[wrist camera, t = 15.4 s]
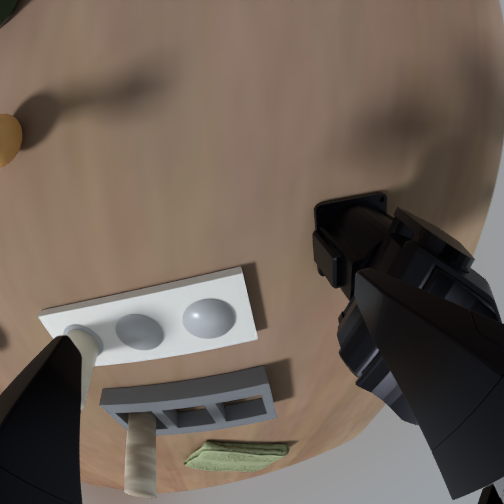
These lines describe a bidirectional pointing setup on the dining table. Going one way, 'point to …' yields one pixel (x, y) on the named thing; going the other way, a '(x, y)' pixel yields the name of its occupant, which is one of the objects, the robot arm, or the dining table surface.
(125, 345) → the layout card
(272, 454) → the washcloth
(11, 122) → the figurine
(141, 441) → the birch peg
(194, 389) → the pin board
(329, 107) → the dining table surface
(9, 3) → the character mug
